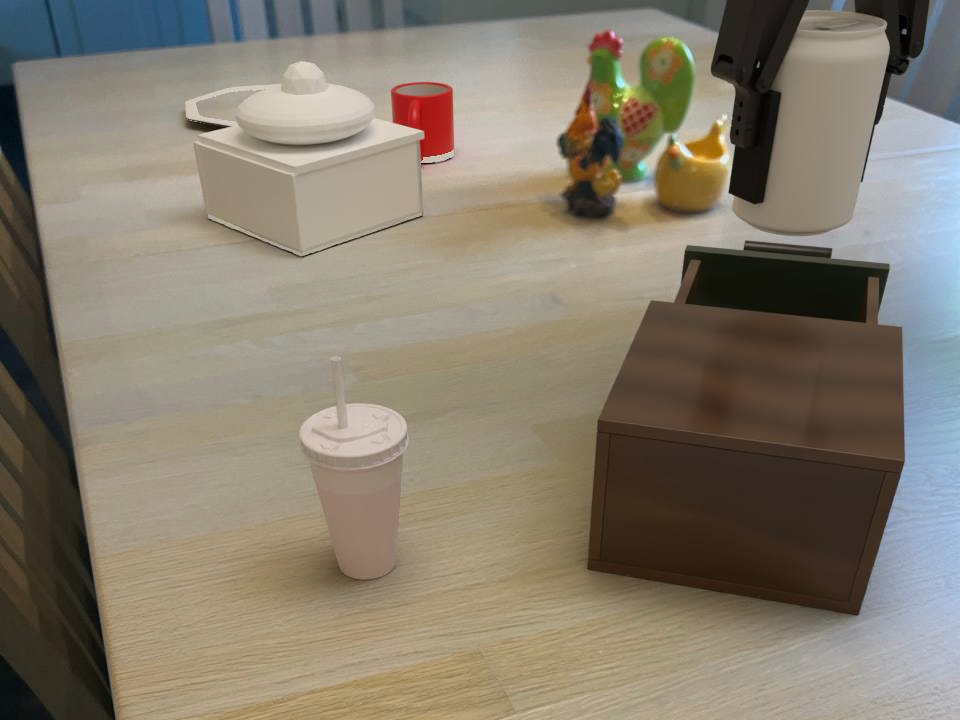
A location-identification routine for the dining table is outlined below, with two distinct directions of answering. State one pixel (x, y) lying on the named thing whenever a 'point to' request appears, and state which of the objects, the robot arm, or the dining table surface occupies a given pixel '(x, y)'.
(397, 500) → the smoothie
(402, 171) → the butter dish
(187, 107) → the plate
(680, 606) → the dining table surface
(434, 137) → the mug
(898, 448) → the cabinet
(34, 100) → the dining table surface
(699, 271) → the drawer
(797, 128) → the beverage can
